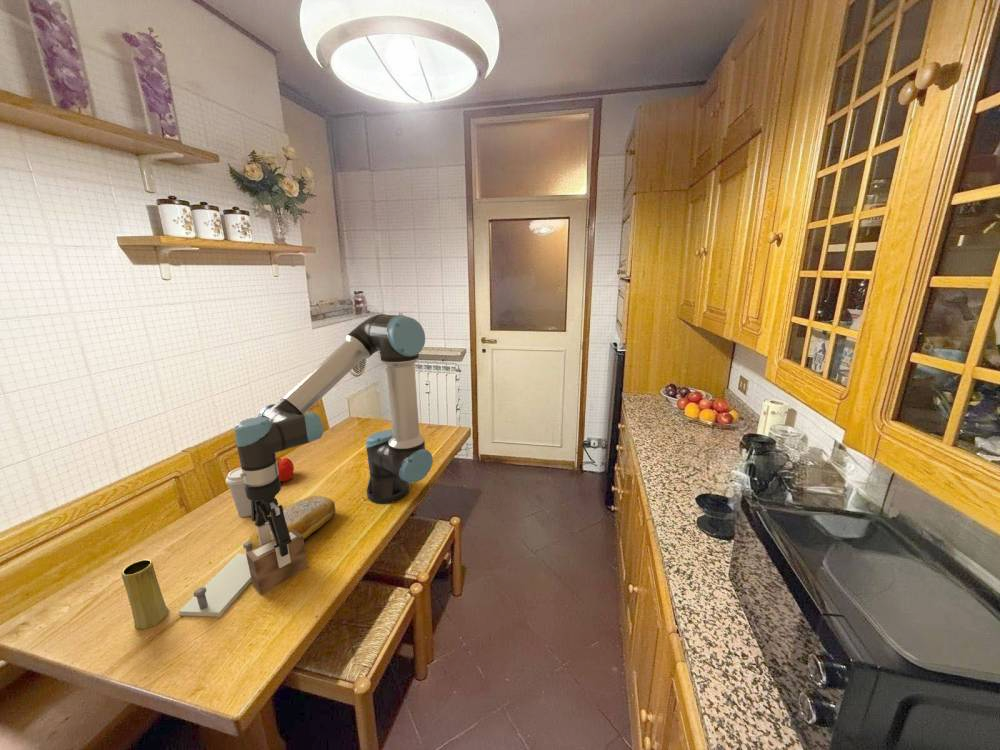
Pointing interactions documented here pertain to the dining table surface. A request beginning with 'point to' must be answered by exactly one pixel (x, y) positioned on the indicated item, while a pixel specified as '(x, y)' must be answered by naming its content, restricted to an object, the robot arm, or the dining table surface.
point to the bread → (303, 517)
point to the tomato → (285, 468)
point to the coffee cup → (239, 492)
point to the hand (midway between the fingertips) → (275, 555)
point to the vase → (144, 594)
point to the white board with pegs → (221, 588)
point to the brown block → (275, 563)
